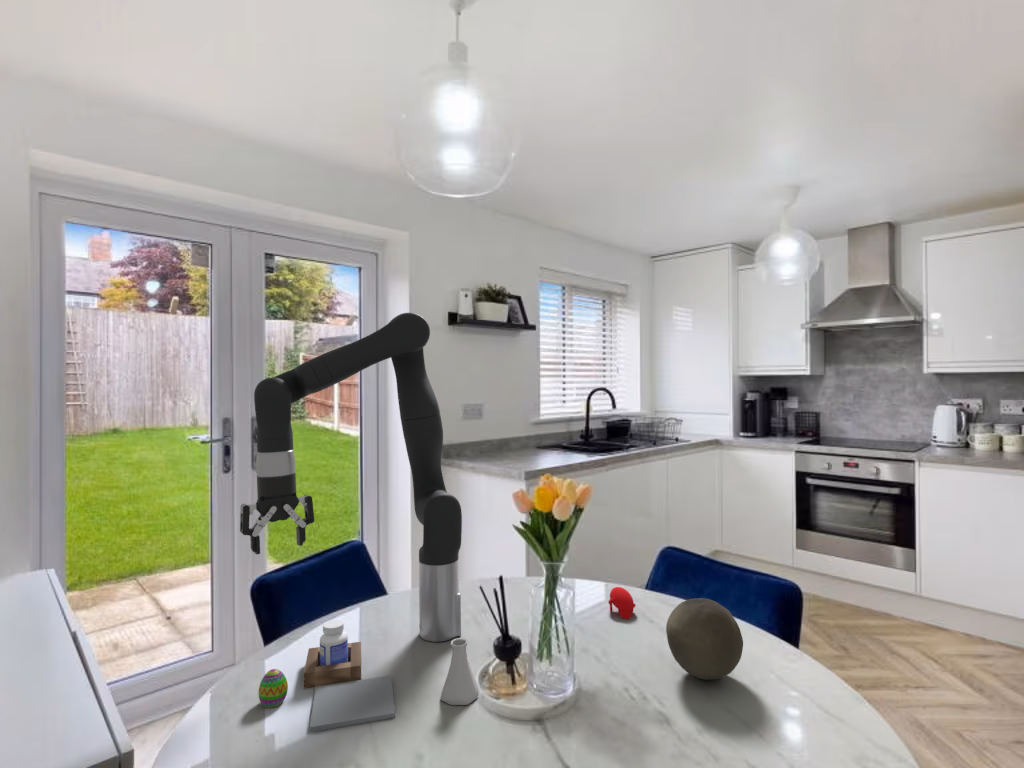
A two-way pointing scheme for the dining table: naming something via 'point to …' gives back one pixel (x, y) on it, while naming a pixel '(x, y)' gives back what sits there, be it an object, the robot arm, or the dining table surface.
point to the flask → (459, 677)
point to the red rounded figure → (622, 602)
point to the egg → (273, 688)
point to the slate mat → (352, 703)
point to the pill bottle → (333, 643)
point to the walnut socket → (332, 668)
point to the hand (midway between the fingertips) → (279, 549)
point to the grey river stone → (704, 638)
